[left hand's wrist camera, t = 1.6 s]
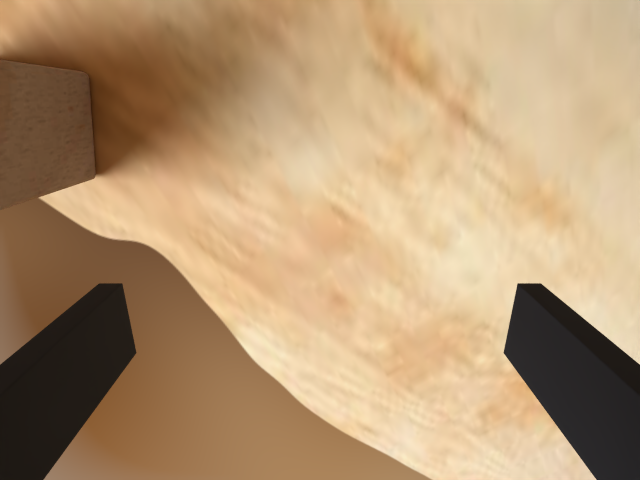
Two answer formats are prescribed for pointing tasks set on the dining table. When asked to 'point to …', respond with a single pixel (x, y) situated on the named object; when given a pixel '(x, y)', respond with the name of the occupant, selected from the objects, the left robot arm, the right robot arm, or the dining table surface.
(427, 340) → the dining table surface
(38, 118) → the wooden block
